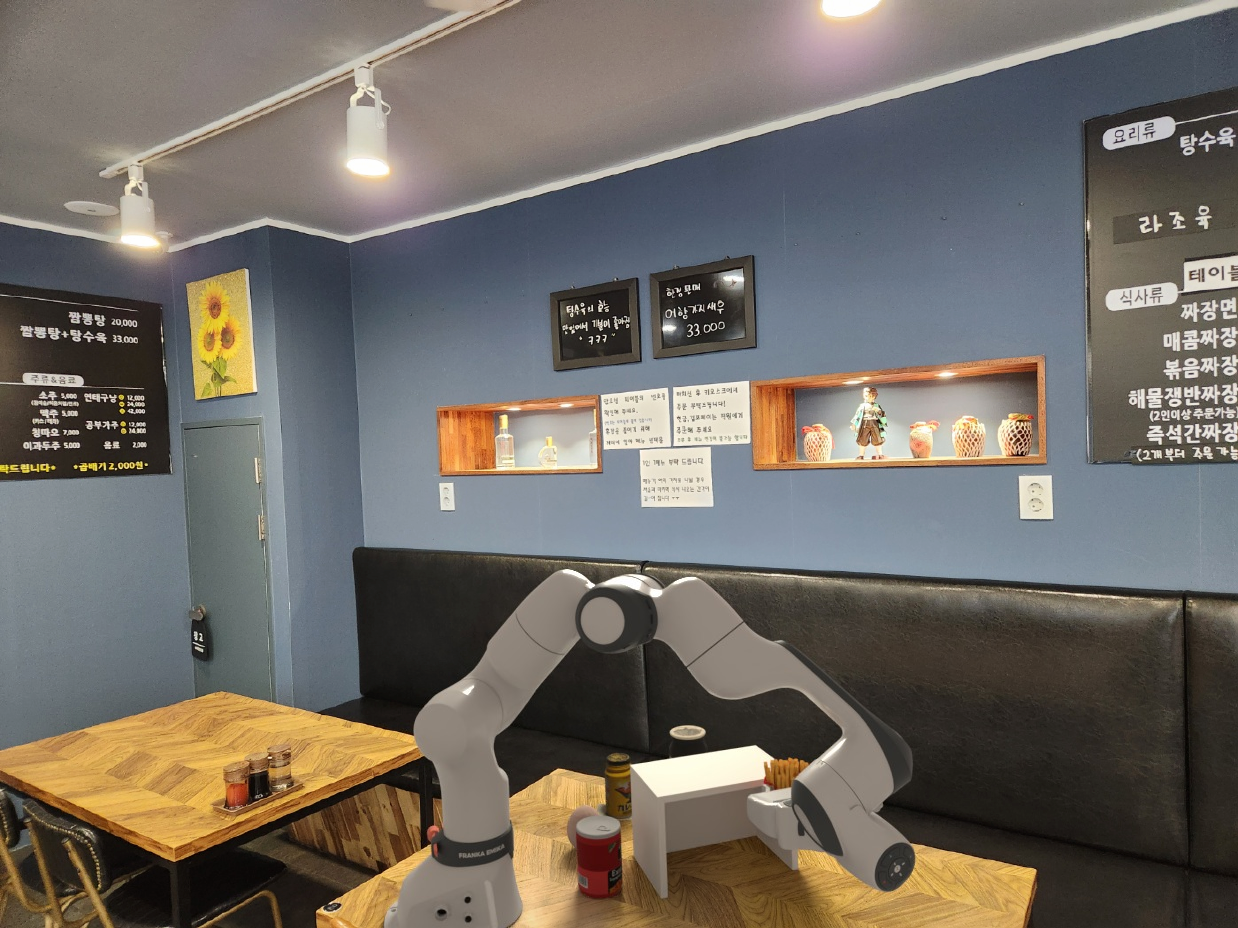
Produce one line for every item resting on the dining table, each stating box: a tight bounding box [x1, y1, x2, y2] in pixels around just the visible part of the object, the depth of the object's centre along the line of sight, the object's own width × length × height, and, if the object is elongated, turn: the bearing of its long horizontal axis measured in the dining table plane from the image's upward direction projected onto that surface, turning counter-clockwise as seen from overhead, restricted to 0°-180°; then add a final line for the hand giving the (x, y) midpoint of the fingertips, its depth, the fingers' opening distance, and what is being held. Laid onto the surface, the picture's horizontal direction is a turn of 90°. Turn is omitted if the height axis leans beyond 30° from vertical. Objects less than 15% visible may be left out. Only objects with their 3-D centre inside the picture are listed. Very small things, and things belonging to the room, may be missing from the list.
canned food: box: [575, 816, 624, 900], centre depth 132 cm, size 8×8×11 cm
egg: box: [566, 804, 600, 850], centre depth 146 cm, size 7×7×8 cm
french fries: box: [764, 757, 810, 790], centre depth 127 cm, size 8×4×12 cm, turn 73°
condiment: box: [596, 752, 632, 821], centre depth 161 cm, size 7×8×12 cm
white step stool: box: [630, 744, 799, 899], centre depth 139 cm, size 26×15×17 cm, turn 107°
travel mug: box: [668, 725, 709, 759], centre depth 158 cm, size 8×8×18 cm
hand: (785, 784), depth 128 cm, fingers closed on french fries, 6 cm apart
